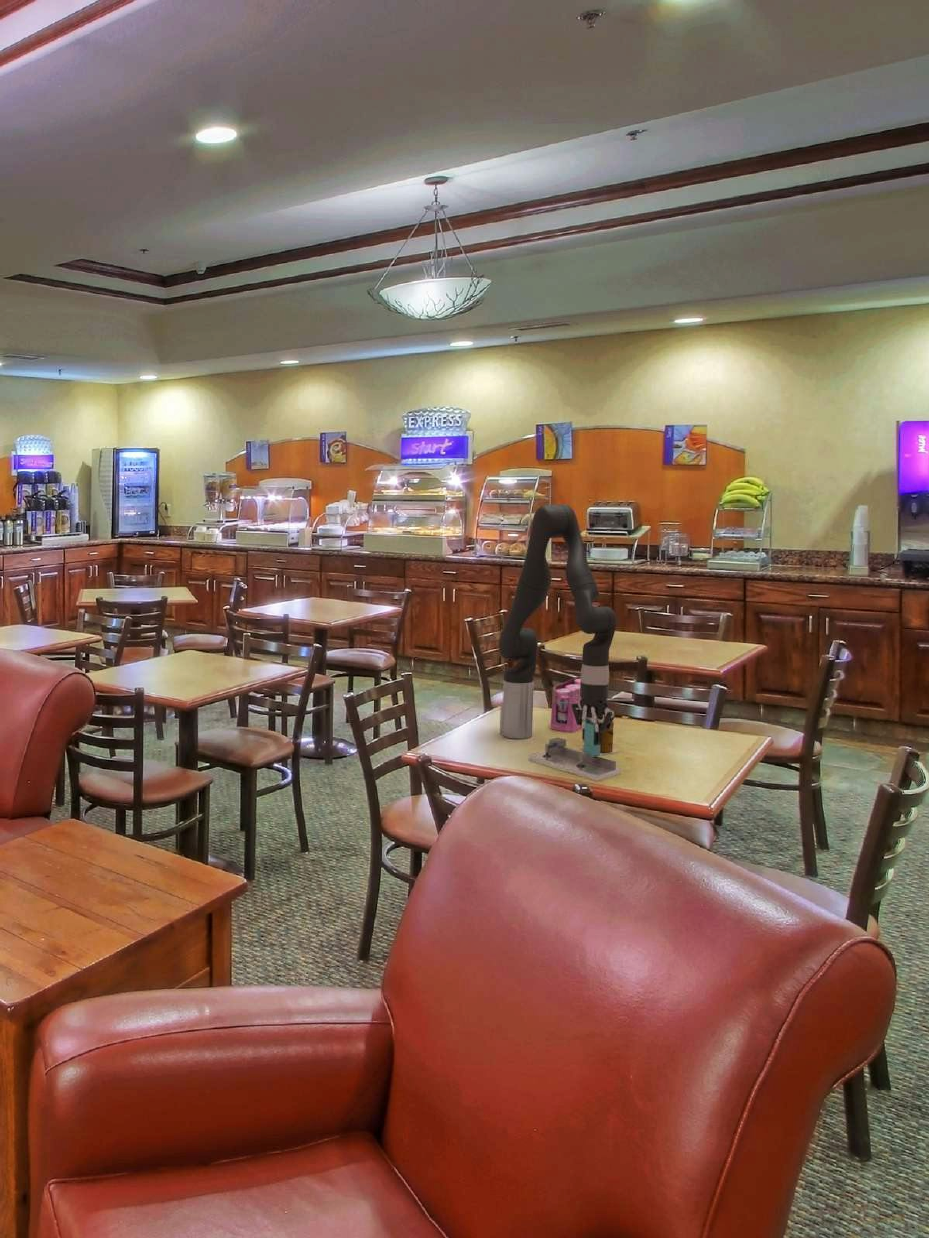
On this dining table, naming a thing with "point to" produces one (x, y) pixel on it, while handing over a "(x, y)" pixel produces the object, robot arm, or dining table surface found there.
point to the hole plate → (574, 761)
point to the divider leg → (589, 743)
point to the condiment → (607, 741)
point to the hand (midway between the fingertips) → (592, 742)
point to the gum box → (565, 705)
